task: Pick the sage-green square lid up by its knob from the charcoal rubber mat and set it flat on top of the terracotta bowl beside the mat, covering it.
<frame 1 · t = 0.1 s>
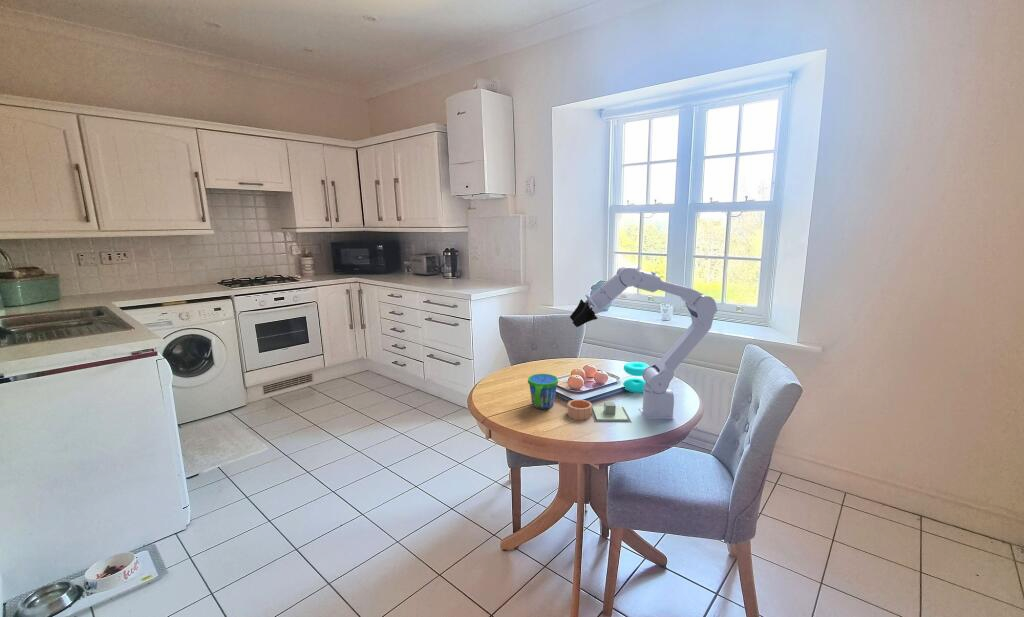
hand: (573, 322, 141), 32 cm above the table, tool tilted 50°, fingers open, 7 cm apart
bowl: (579, 415, 146), on the table
donuts: (636, 389, 169), on the table
lid: (609, 414, 146), resting on mat
snack cup: (542, 406, 154), on the table
mat: (609, 415, 146), on the table
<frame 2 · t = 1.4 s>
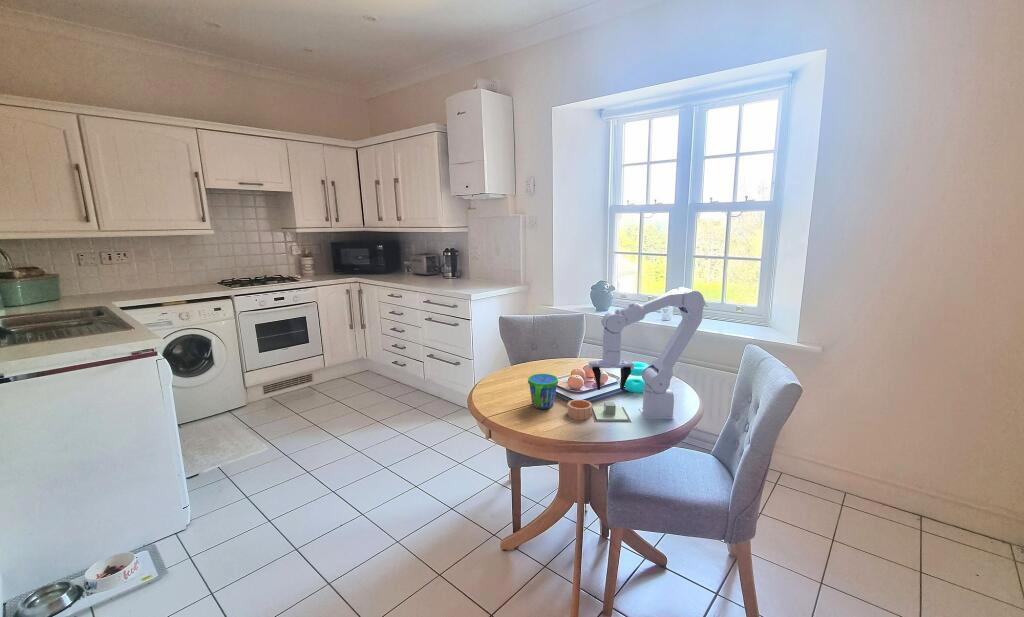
hand: (610, 388, 144), 9 cm above the table, tool pointing down, fingers open, 7 cm apart
nothing on the table moved.
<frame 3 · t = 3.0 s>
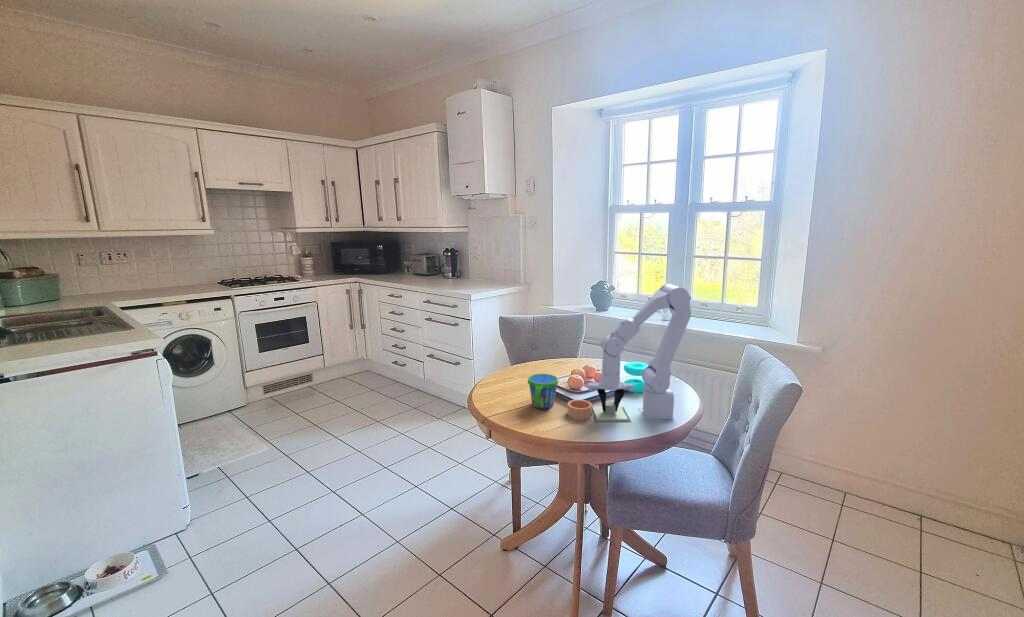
hand: (609, 410, 145), 2 cm above the table, tool pointing down, fingers closed on lid, 3 cm apart
lid: (609, 414, 146), resting on mat, touching gripper
everything else where it was.
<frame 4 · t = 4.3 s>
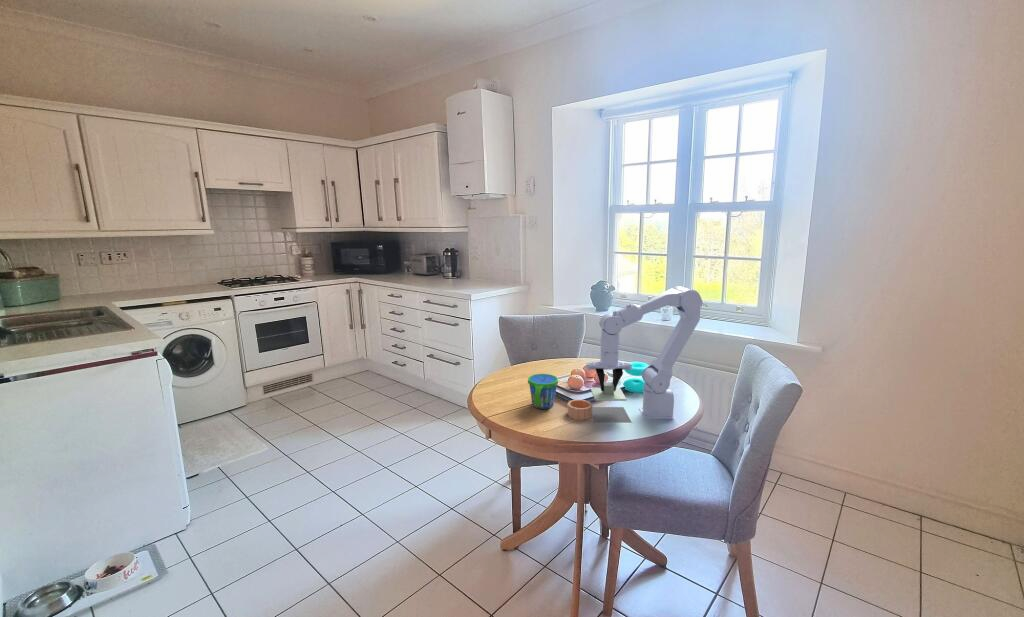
hand: (608, 390, 144), 9 cm above the table, tool pointing down, fingers closed on lid, 3 cm apart
lid: (607, 394, 144), point 7 cm above the table, touching gripper
everything else where it was.
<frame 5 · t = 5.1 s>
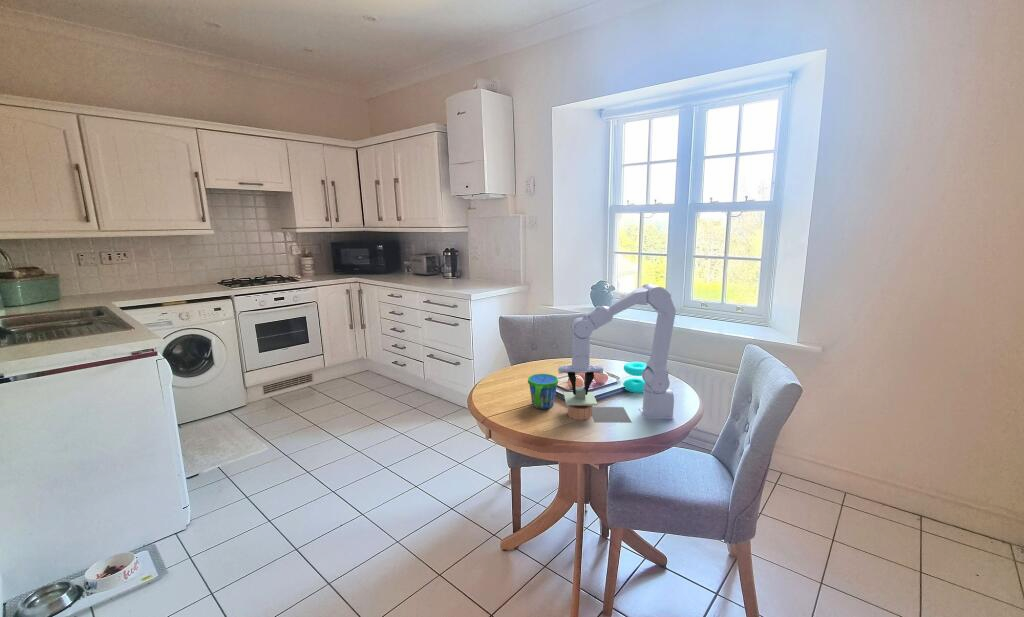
hand: (580, 393, 145), 8 cm above the table, tool pointing down, fingers closed on lid, 3 cm apart
lid: (579, 399, 145), point 6 cm above the table, touching gripper
everything else where it was.
when the fingers open (6 cm above the table, at t = 5.6 s): lid stays where it is, resting on bowl.
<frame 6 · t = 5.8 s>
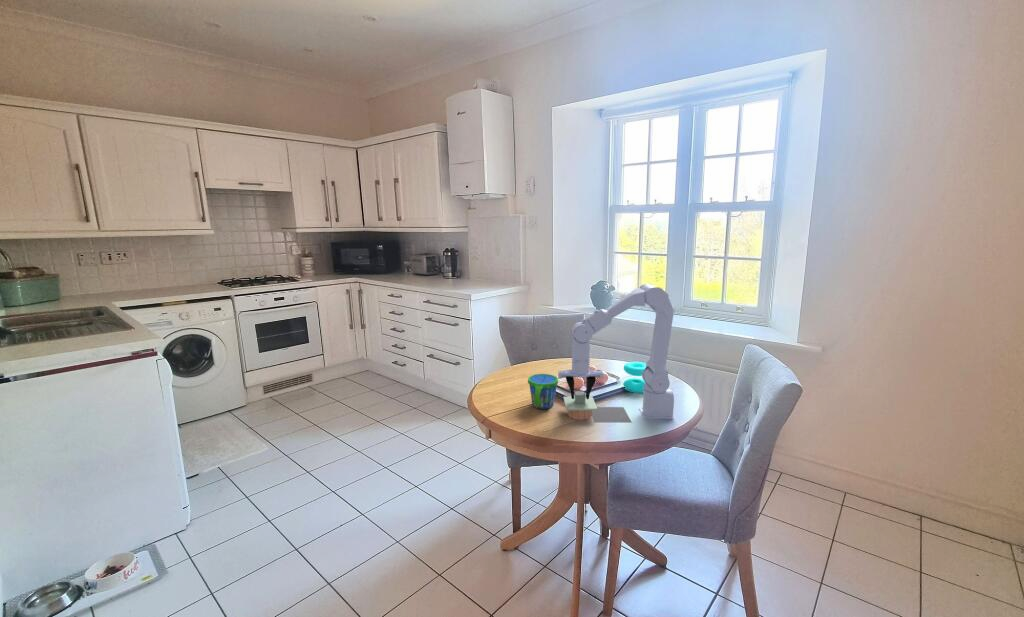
hand: (579, 398, 145), 6 cm above the table, tool pointing down, fingers open, 4 cm apart
lid: (579, 404, 145), point 4 cm above the table, touching bowl
everything else where it was.
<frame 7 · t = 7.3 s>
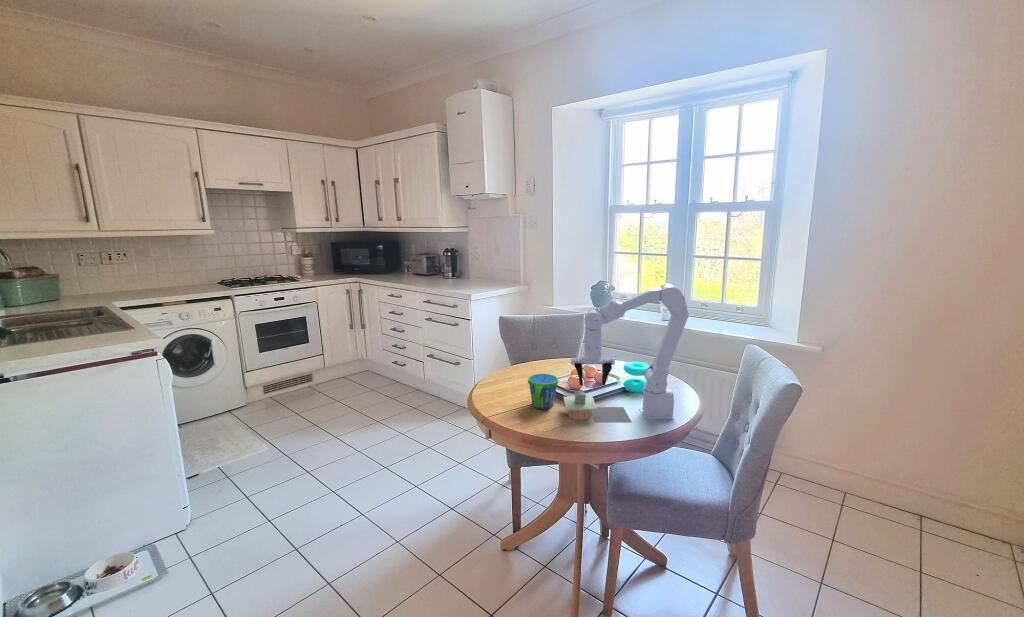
hand: (592, 384, 149), 9 cm above the table, tool pointing down, fingers open, 7 cm apart
nothing on the table moved.
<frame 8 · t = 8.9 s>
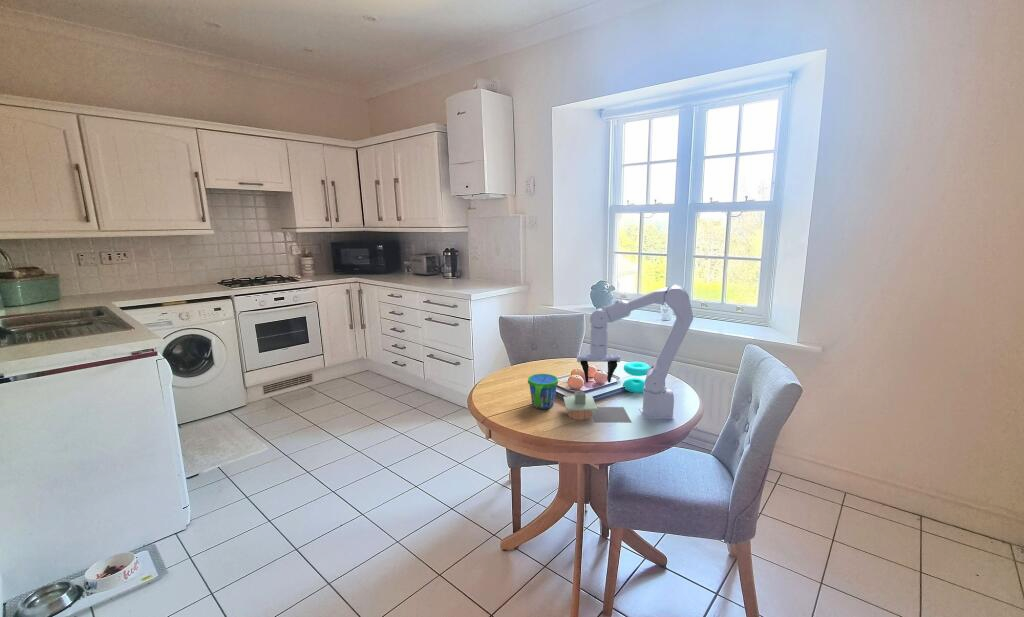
hand: (597, 381, 151), 9 cm above the table, tool pointing down, fingers open, 7 cm apart
nothing on the table moved.
at the end: lid 0.1 cm off-centre on the bowl, point 4.0 cm above the bowl's base; lid tilted 0°; the gripper is holding nothing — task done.
